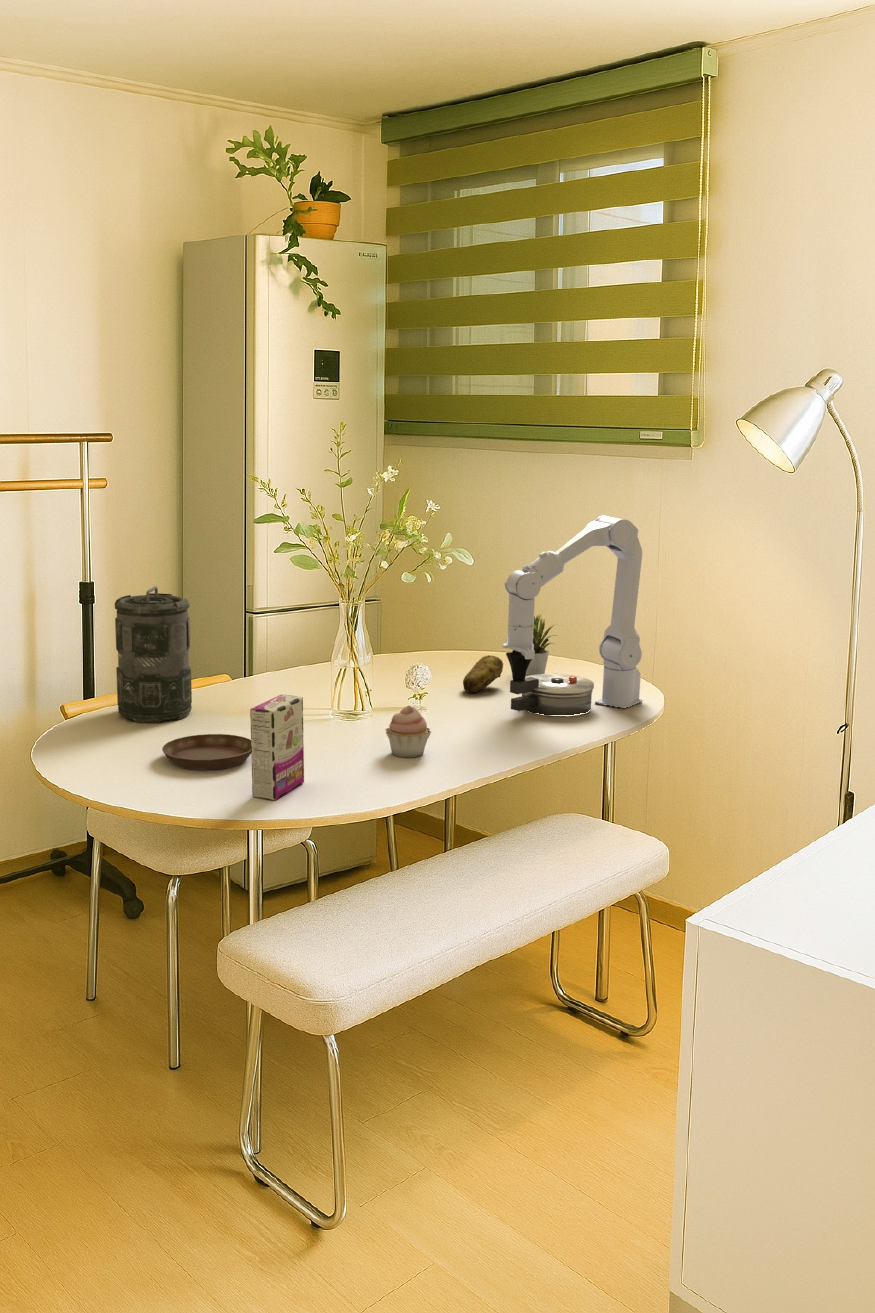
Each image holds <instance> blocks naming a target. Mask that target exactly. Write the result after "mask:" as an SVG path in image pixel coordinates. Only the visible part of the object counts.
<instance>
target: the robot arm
mask: <svg viewBox="0 0 875 1313" xmlns="http://www.w3.org/2000/svg"><path fill="white" fill-rule="evenodd" d="M638 534H639V529H638V528H637V526H636V525H634V523H633V522H631V520H629V519H625V518H617V517H613V516H612V517H611V516H609V515H606V514H605V515H604V514H603V515H600V516H598V517H597V518H596V519H595V520H593V521H591V522H589V523H588V524H586V526H585V528H583V529H582V530H581V531H580V532H578V533H577V534H576V535H575V536H574V537H573V538H571V539H569V541H567V542H566V543H565V544H564V545H562V546H561V547H560V548H558V549H557V550H556V551H552V550H547V551H541V552H540V553H539V554H538V557H537V558H536V559H535V560H533V561H531V562H530V563H529V564H525V565H523V566H522V569H520V570H514V571H512V572H511V573H510V574H509V575H508V577H507V579H506V582H504V587H505V588H504V589H505V590H506V592H507V594H508V614H507V615H508V616H507V617H508V622H507V637H506V638H505V643H501V648H503V649H509V650H512V651H511V652H510V651H509V652H505V655H506V658H507V660H508V662H509V667H510V670H511V675H512V676H511V677H512V680H516V679H522V678H525V677H526V671H527V668H528V666H529V664H530V662H531V660H532V659H534V657H535V651H534V650H533V648H534V644H533V628H534V616H535V604H536V602H535V601H536V600H535V599H536V597H538V595H539V594H540V591H541V588H542V587H543V586H545V585H547V584H548V583H549V582H550V581H551V580H553V579H555V578H556V577H557V576H559V575H560V574H562V573H563V571H564V568H565V565H566V564H567V563H568V562H570V561H572V560H573V559H575V558H576V557H578V556H580V555H581V554H582V553H584V552H586V551H587V550H589V549H590V548H592V547H607V548H608V549H609V550H610V551H611V552H612V553H613V554H614V556H616V557H617V562H616V563H617V564H616V570H615V571H616V572H615V581H614V588H613V589H614V591H613V599H612V600H613V601H612V609H611V617H610V618H611V619H610V624H609V626H608V627H607V628H606V629H605V630H604V635H603V638H602V640H601V641H600V644H599V647H598V648H599V655H600V657H601V658H602V659H603V677H602V678H603V679H602V693H601V694H602V696H601V698H600V699H597V700H595V701H594V704H596V703H600V704H599V705H601V704H606V705H605V706H607V705H610V706H609V707H612V706H615V707H614V708H617V707H622V708H625V707H628V708H630V707H632V705H633V706H635V705H638V704H640V703H642V702H644V699H641V698H640V692H641V691H640V690H641V678H642V677H641V672H640V670H639V668H638V667H637V666H638V664H640V662H641V660H642V654H643V652H642V648H641V645H640V640H641V637H640V635H639V633H638V631H637V630H636V628H635V624H636V623H635V622H636V616H637V606H638V597H639V596H638V595H639V585H640V578H641V571H642V570H641V568H642V560H643V559H642V558H643V549H642V546H641V542H640V539H639V537H638V536H639V535H638ZM639 702H640V703H639ZM637 703H638V704H637ZM622 708H621V709H622Z"/></svg>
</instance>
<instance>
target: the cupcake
mask: <svg viewBox="0 0 875 1313" xmlns="http://www.w3.org/2000/svg"><path fill="white" fill-rule="evenodd" d="M388 725H389V727H387V728H385V734H386V736H387V738H388V741H389V745H390V752H391V753H392V754H393V756H396V757H400V758H405V759H408V758H418V757H420V756H422V755H423V754H424V753H425V749H426V745H427V742H428V739H429V737H430V735H431V733H432V731H431V728H430V727H428V724H427V721H426V719H425V718H424V717H423V716H422V714H421V712H419V710H418V709H416V707H414V706H411V705H407V706H404V708H403V709H401V710H400V712H397V713H394V714H393V715H392V717H391V721H390V723H389V724H388Z"/></svg>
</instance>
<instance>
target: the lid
mask: <svg viewBox="0 0 875 1313" xmlns="http://www.w3.org/2000/svg"><path fill="white" fill-rule="evenodd" d="M509 684H510V685H509V693H512V694H515V695H522V693H528V692H533V691H535V692H540V693H547V694H580V693H585V692H589V691H591V690H593V691H594V689H595V682H594V681H592V680H591V679H588V678H587V677H582V676H579V675H573V674H566V673H565V674H564V673H545V674H536V675H530V676H526V675H525V678H522V679H516V680H513V679H511V680H510V682H509Z"/></svg>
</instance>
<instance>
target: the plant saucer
mask: <svg viewBox="0 0 875 1313" xmlns="http://www.w3.org/2000/svg"><path fill="white" fill-rule="evenodd" d="M161 749H162V752H163V754H164V755H165V757H166V758H167V759H168V760H169V761H170V762H171V763H172V764H174V765H175V766H177V767H179V768H181V769H186V770H193V771H195V770H196V771H215V770H223V769H228V768H233V767H236V766H239V765H241V764H242V763H244V762H245V761H247V759H248V758H249V757H250V756H251V755H252V753H251V738H247V737H245V736H240V735H237V734H236V735H235V734H224V733H207V734H205V733H204V734H196V735H188V736H184V737H179V738H175V739H172V740H170V741H168V742H167V743H165V744H163V746H162V748H161Z"/></svg>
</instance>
